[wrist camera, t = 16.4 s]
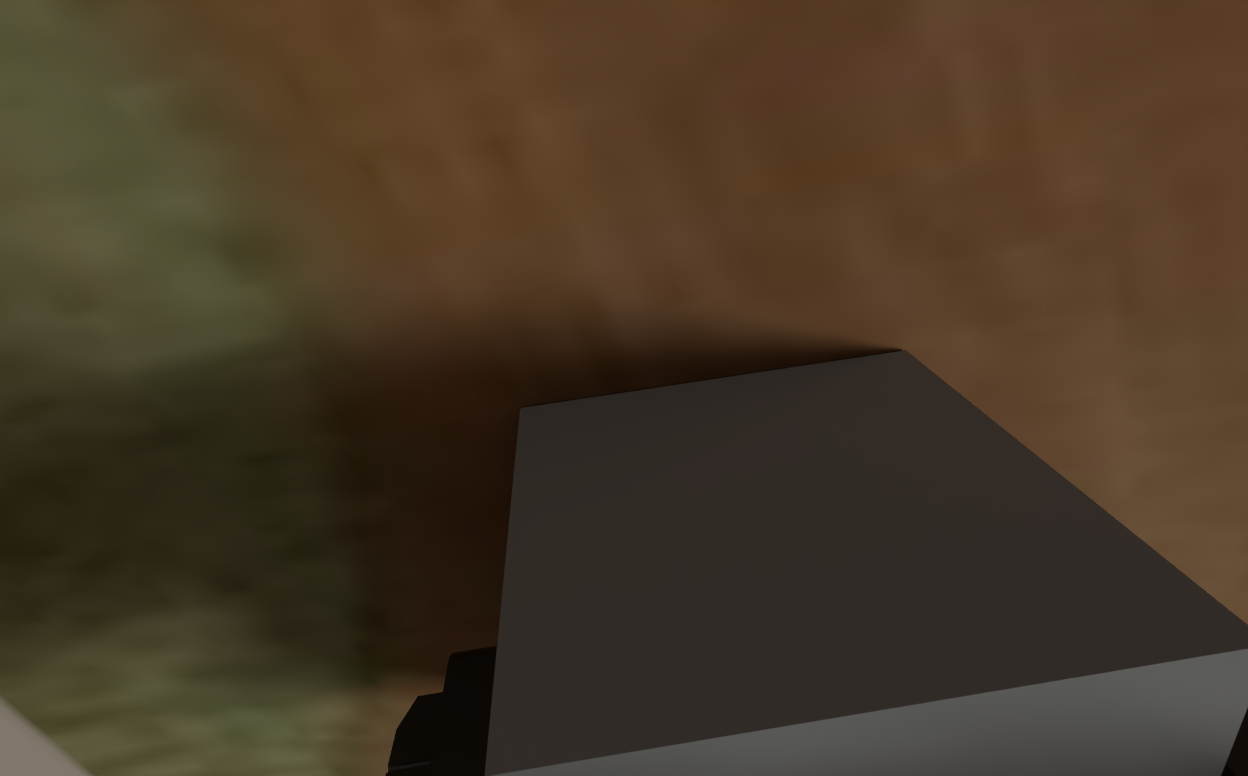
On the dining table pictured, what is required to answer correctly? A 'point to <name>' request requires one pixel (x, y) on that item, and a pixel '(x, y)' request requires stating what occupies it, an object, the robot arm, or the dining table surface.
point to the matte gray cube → (837, 595)
